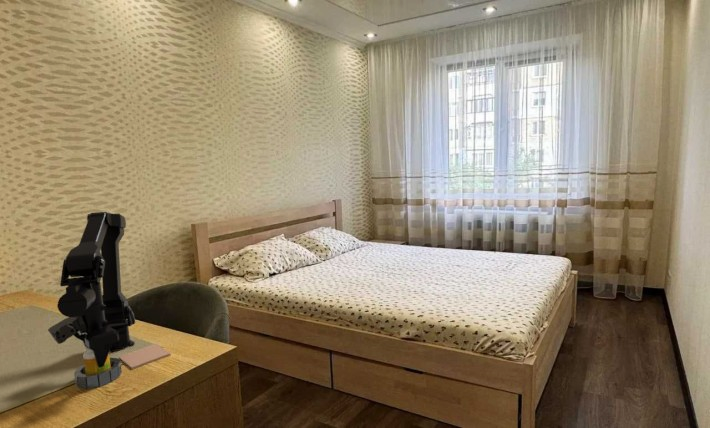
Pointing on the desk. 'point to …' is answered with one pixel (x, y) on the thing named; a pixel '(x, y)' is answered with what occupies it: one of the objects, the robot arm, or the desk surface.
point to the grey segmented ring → (98, 375)
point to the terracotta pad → (144, 356)
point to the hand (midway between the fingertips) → (97, 363)
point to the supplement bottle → (93, 363)
